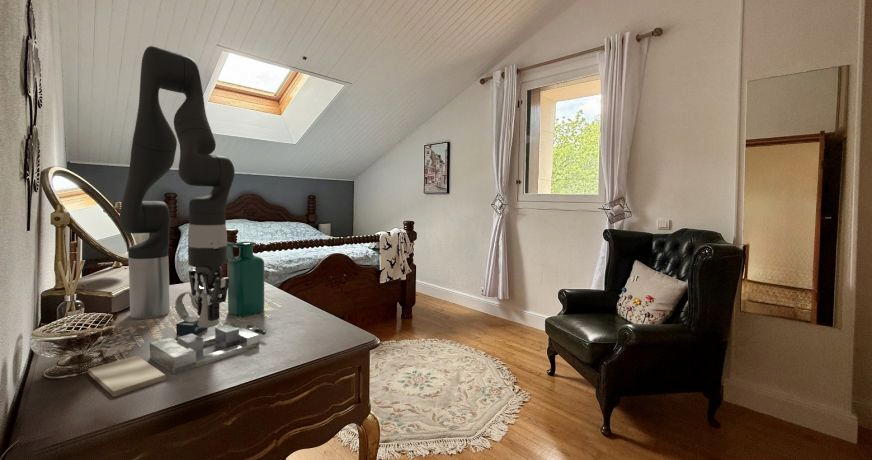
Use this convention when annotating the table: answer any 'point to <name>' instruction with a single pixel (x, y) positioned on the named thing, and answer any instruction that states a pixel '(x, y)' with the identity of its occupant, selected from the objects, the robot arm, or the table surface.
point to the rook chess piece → (205, 314)
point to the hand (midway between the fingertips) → (208, 317)
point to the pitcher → (245, 280)
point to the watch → (187, 317)
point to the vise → (191, 347)
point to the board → (126, 375)
